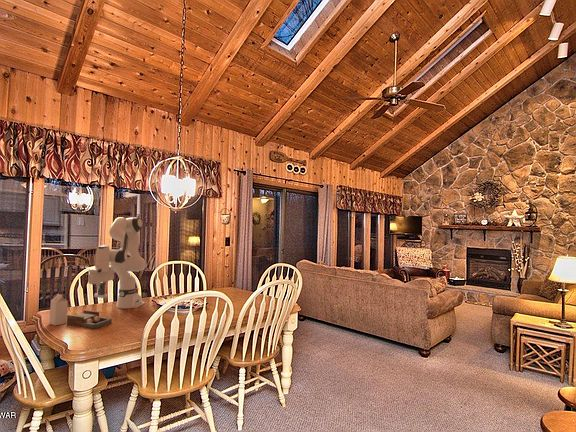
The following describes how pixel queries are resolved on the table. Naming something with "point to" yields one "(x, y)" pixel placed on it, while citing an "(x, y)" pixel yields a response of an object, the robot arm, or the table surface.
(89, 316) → the channel block
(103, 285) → the scraper
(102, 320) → the tray
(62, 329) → the table surface
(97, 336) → the table surface
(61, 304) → the milk carton
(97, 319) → the birch ball
